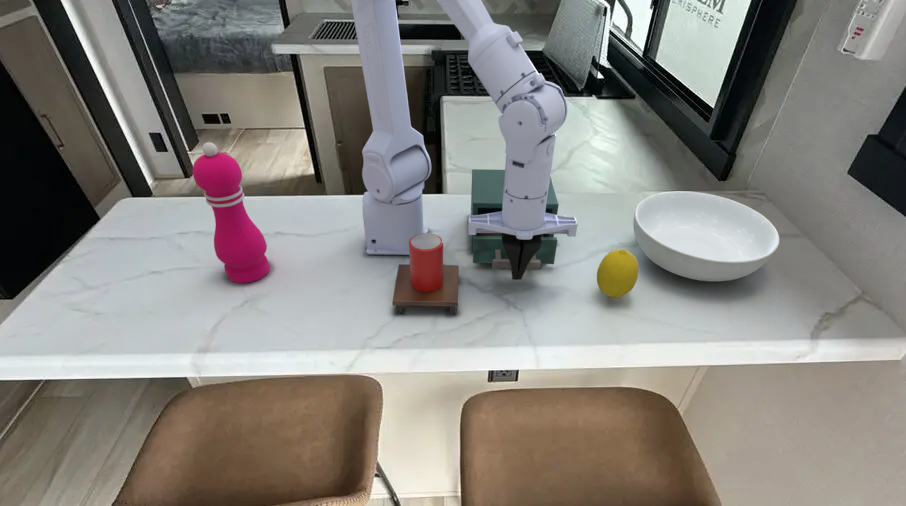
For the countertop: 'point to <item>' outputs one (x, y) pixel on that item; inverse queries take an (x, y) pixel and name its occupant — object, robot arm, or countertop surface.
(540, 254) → the handled drawer
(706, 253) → the serving bowl
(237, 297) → the countertop surface
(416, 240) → the can
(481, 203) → the teal open box
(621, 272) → the lemon
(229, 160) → the pepper mill
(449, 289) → the brown square board
